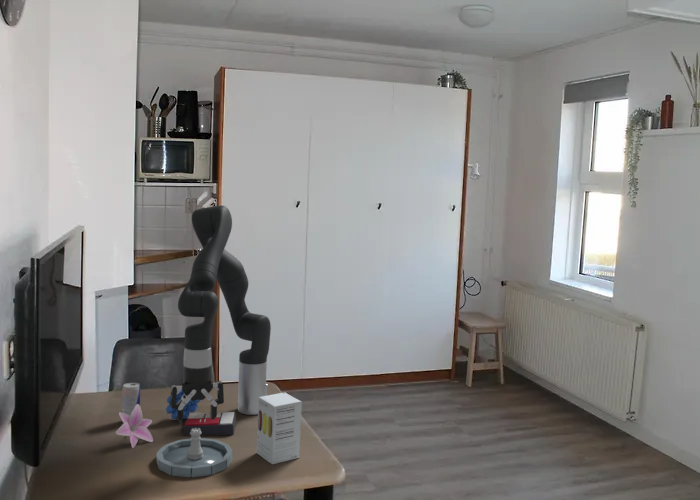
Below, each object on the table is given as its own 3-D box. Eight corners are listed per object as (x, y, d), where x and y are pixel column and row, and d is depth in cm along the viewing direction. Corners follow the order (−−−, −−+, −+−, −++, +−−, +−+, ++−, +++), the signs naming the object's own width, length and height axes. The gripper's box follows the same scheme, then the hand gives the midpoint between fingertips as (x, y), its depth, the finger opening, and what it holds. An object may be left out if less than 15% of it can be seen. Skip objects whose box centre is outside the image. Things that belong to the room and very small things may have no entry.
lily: (108, 453, 190) (121, 428, 187) (105, 424, 199) (118, 400, 197) (148, 458, 196) (161, 434, 194) (143, 430, 206) (156, 407, 203)
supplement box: (255, 453, 192) (257, 396, 191) (282, 446, 198) (284, 391, 196) (272, 465, 185) (274, 406, 183) (300, 458, 190) (302, 400, 189)
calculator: (188, 411, 214) (235, 409, 215) (188, 424, 214) (236, 422, 216) (183, 424, 203) (233, 422, 204) (183, 438, 203) (233, 435, 205)
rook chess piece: (188, 453, 187) (188, 426, 186) (204, 454, 188) (205, 426, 187) (185, 460, 183) (186, 432, 182) (202, 460, 183) (203, 432, 182)
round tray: (223, 443, 198) (223, 435, 198) (238, 471, 180) (239, 462, 180) (153, 451, 190) (153, 442, 190) (162, 481, 172) (162, 472, 172)
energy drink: (142, 419, 214) (143, 383, 213) (135, 425, 209) (136, 388, 208) (126, 418, 215) (127, 381, 213) (119, 424, 209) (119, 386, 208)
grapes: (197, 412, 223) (198, 377, 222) (203, 418, 217) (204, 383, 216) (162, 417, 217) (162, 381, 216) (167, 424, 211) (168, 387, 210)
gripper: (220, 357, 188) (219, 413, 190) (168, 361, 183) (168, 418, 185) (226, 365, 182) (225, 422, 183) (173, 369, 176) (172, 428, 178)
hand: (196, 420), depth 184 cm, fingers open, 8 cm apart
